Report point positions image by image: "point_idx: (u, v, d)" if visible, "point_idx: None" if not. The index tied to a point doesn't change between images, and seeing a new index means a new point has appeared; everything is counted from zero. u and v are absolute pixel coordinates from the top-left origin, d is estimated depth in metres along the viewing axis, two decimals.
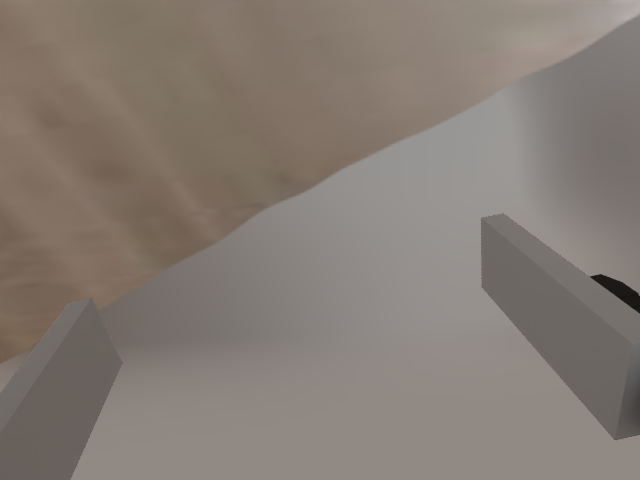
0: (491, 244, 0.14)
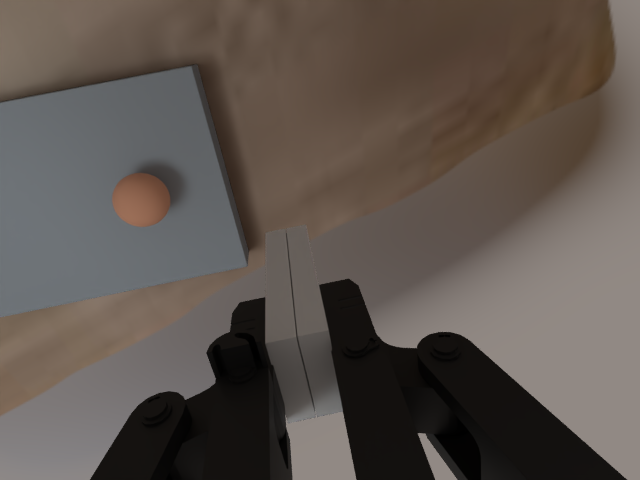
0: None
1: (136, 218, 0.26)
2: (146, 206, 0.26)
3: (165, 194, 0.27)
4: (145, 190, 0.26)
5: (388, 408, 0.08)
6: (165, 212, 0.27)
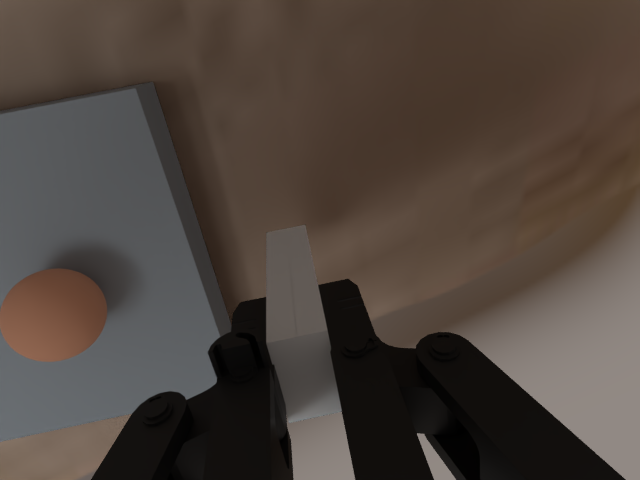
0: None
1: (40, 355, 0.15)
2: (56, 336, 0.15)
3: (94, 307, 0.16)
4: (54, 308, 0.15)
5: (387, 408, 0.08)
6: (96, 335, 0.16)
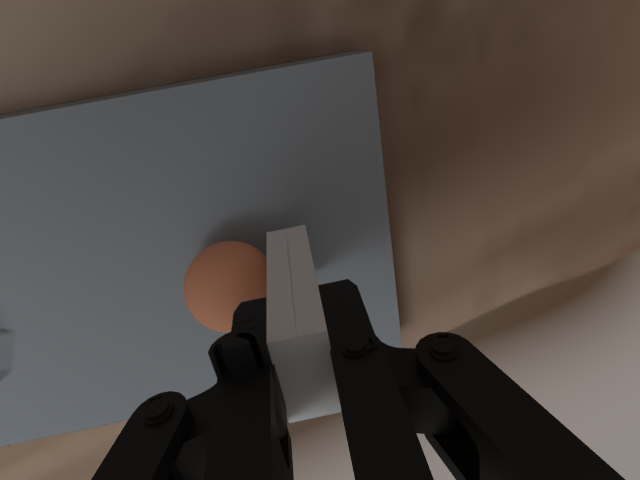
0: None
1: (199, 321, 0.15)
2: (207, 314, 0.15)
3: None
4: (211, 288, 0.14)
5: (387, 408, 0.08)
6: None
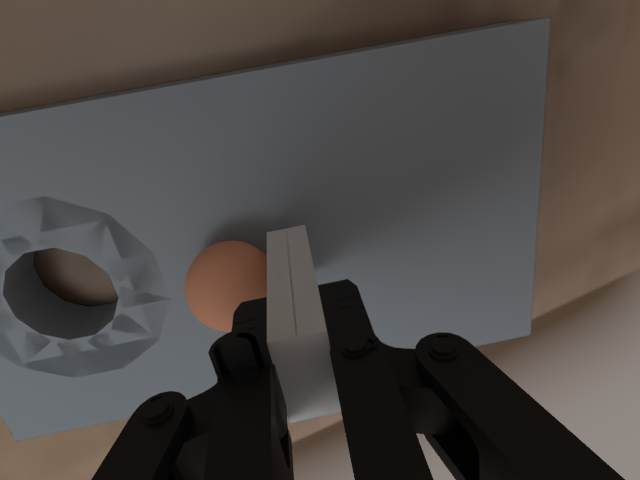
0: None
1: None
2: None
3: None
4: None
5: (387, 408, 0.08)
6: None
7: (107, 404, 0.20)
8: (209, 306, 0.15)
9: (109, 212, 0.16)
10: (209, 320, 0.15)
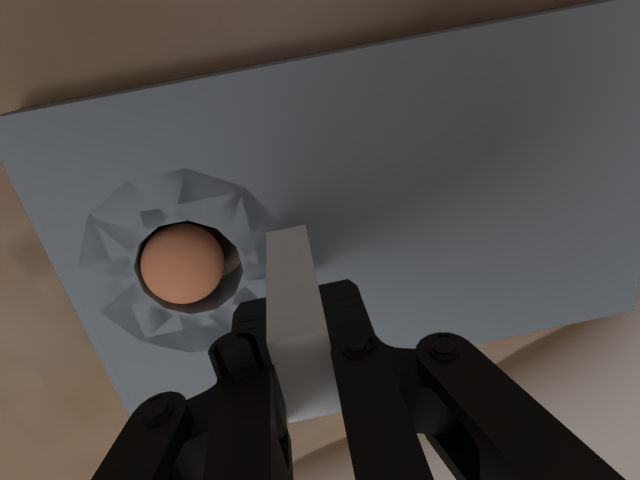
0: None
1: None
2: None
3: (142, 272, 0.17)
4: None
5: (387, 408, 0.08)
6: (156, 295, 0.18)
7: None
8: (219, 247, 0.18)
9: (245, 184, 0.16)
10: (222, 261, 0.18)
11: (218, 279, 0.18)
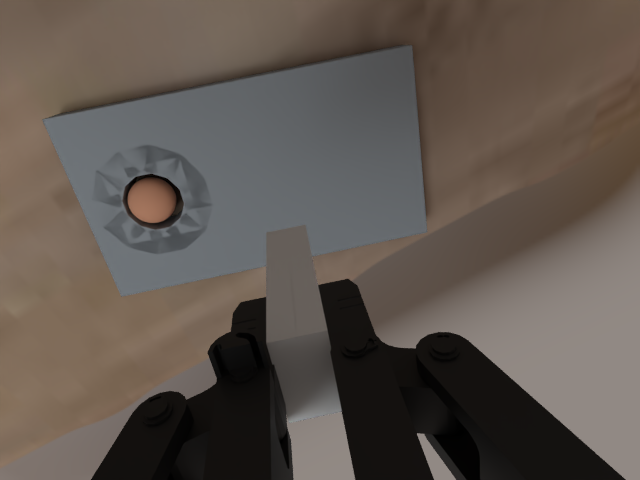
0: None
1: None
2: None
3: (129, 203, 0.31)
4: None
5: (387, 408, 0.08)
6: (137, 217, 0.32)
7: (174, 272, 0.34)
8: (173, 190, 0.32)
9: (181, 153, 0.30)
10: (174, 198, 0.32)
11: (172, 208, 0.32)
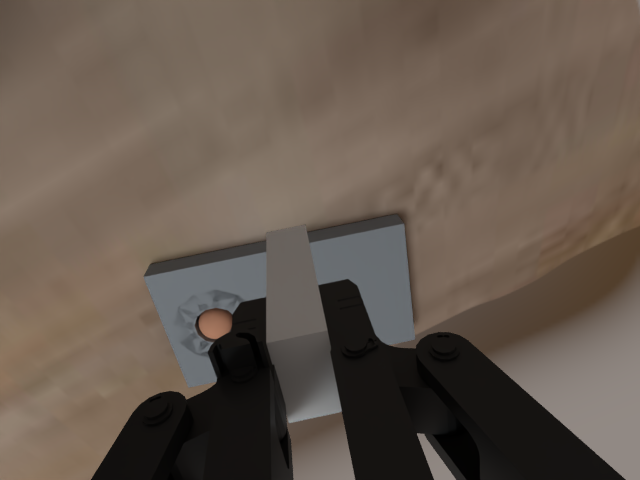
0: None
1: None
2: None
3: (201, 327, 0.43)
4: (199, 318, 0.44)
5: (387, 408, 0.08)
6: (206, 336, 0.44)
7: None
8: (230, 314, 0.44)
9: (239, 294, 0.42)
10: None
11: None
